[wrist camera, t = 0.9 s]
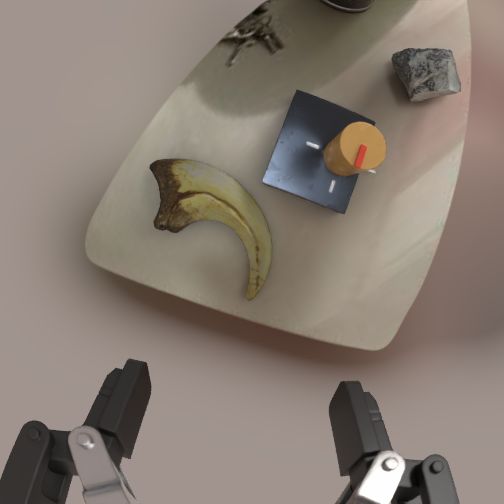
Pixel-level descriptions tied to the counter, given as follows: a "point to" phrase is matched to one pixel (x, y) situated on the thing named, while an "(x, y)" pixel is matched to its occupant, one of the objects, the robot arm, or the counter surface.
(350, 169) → the tan cylinder
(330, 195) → the panel
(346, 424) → the robot arm
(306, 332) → the counter surface
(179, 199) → the claw
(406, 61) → the stone
